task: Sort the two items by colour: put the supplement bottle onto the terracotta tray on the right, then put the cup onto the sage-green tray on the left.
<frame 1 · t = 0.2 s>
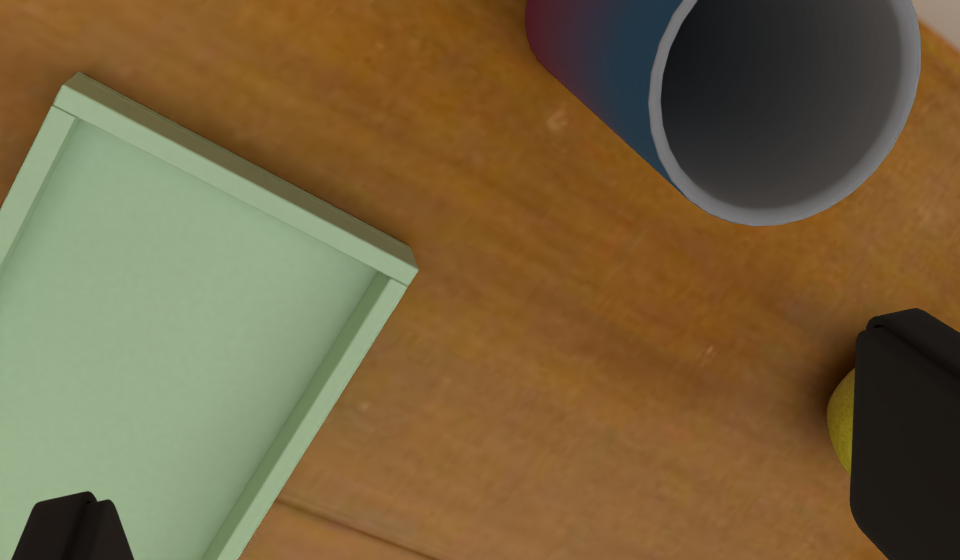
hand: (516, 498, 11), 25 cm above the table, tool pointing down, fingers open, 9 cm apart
cup: (587, 16, 35), on the table
fruit: (861, 388, 44), on the table
sage tray: (95, 451, 37), on the table
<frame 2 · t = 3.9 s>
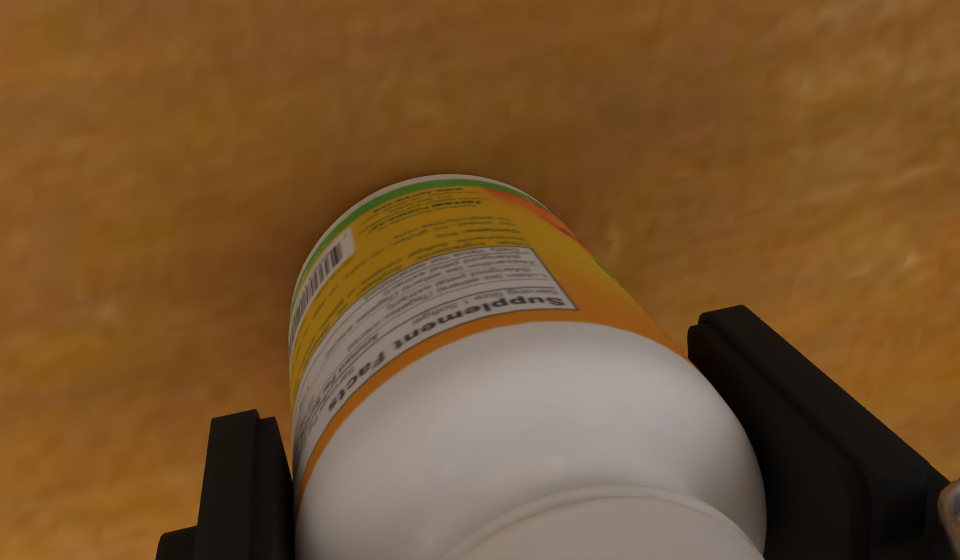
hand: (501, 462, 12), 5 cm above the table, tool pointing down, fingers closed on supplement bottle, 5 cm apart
supplement bottle: (439, 307, 17), on the table, touching gripper
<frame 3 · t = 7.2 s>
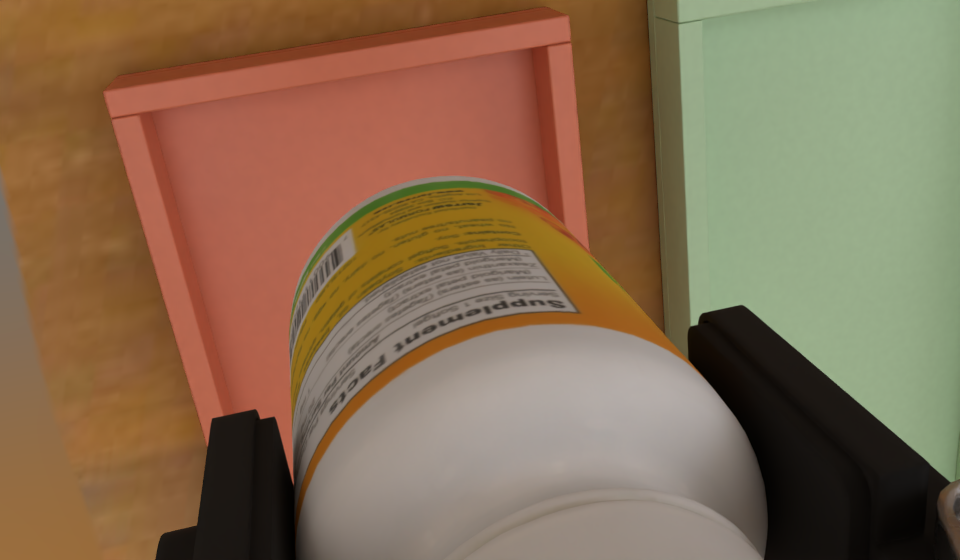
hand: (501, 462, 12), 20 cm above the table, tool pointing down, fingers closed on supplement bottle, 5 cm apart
supplement bottle: (440, 309, 17), point 15 cm above the table, touching gripper
terracotta tray: (408, 413, 34), on the table
sage tray: (826, 321, 36), on the table
when the fingers open (5 cm above the table, at t = 10.7 s): supplement bottle stays where it is, resting on terracotta tray.
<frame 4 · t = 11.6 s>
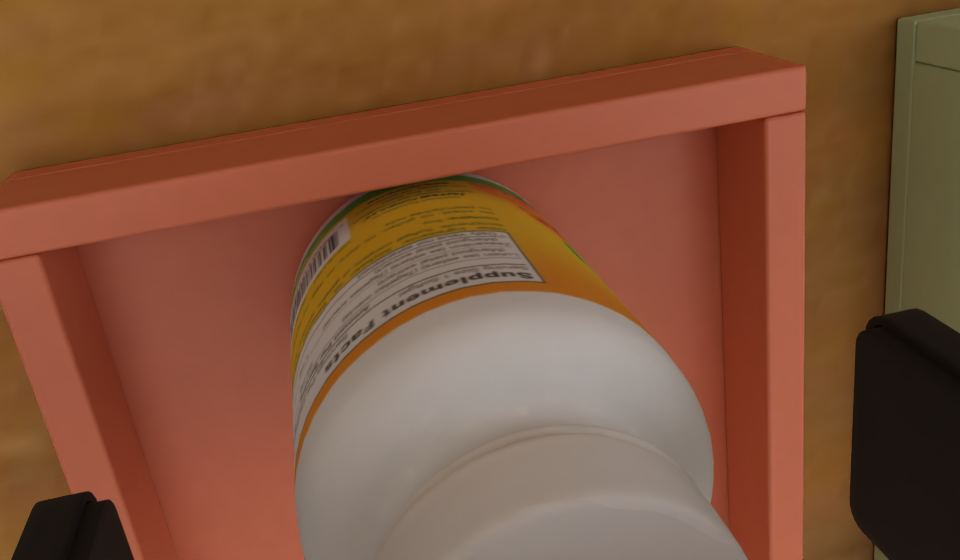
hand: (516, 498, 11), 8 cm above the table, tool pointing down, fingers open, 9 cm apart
supplement bottle: (429, 295, 18), resting on terracotta tray
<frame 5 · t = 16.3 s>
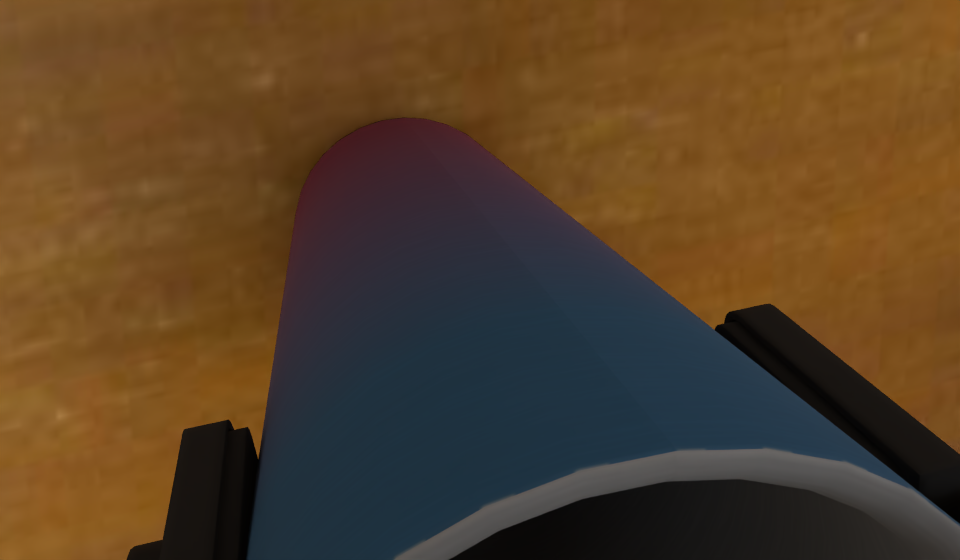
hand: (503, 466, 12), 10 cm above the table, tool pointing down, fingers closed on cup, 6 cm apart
cup: (405, 222, 21), on the table, touching gripper
when the fingers open (11 cm above the table, at t = 23.3 s): cup stays where it is, resting on sage tray.
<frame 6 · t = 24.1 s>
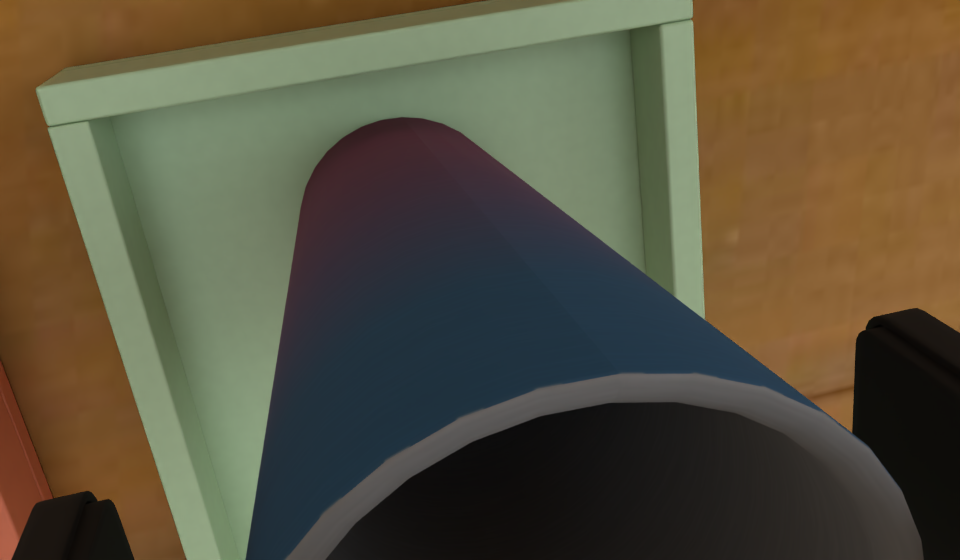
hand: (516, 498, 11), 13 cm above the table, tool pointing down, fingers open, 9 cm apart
cup: (403, 216, 22), resting on sage tray
sage tray: (453, 508, 26), on the table
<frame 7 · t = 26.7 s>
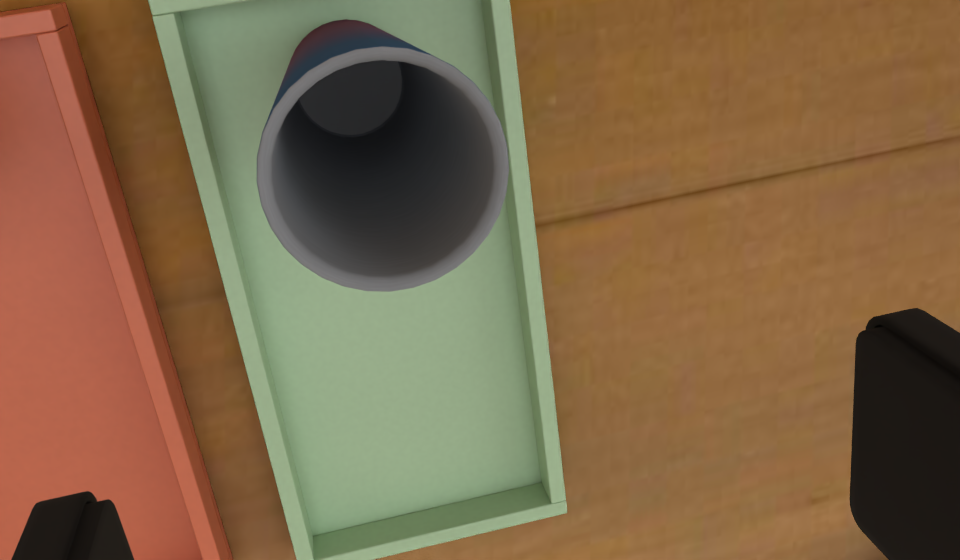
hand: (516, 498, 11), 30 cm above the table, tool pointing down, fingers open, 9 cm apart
terracotta tray: (3, 349, 40), on the table
cup: (348, 80, 38), resting on sage tray
sage tray: (384, 273, 42), on the table
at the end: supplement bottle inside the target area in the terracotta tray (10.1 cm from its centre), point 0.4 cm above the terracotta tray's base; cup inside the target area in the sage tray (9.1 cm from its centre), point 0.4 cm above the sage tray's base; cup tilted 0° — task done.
